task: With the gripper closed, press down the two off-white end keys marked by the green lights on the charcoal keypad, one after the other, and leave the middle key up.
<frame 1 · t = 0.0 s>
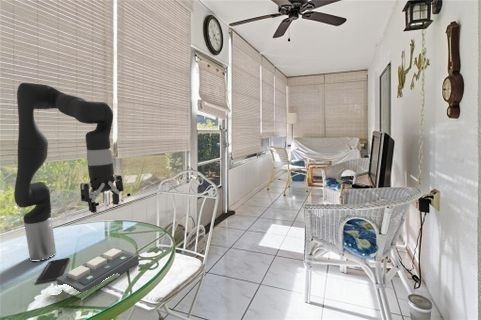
hand: (105, 208, 89), 29 cm above the table, tool pointing down, fingers open, 8 cm apart
key b: (97, 263, 100), point 4 cm above the table, slide at 0.0 cm
keypad: (101, 275, 99), on the table
phone: (55, 271, 103), on the table
key a: (79, 273, 93), point 4 cm above the table, slide at 0.0 cm
key c: (112, 255, 106), point 4 cm above the table, slide at 0.0 cm
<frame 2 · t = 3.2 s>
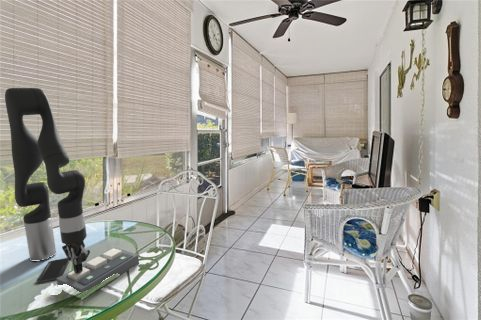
hand: (78, 271, 93), 5 cm above the table, tool pointing down, fingers closed
key a: (79, 274, 93), point 4 cm above the table, slide at 0.5 cm, touching gripper
everything else where it was.
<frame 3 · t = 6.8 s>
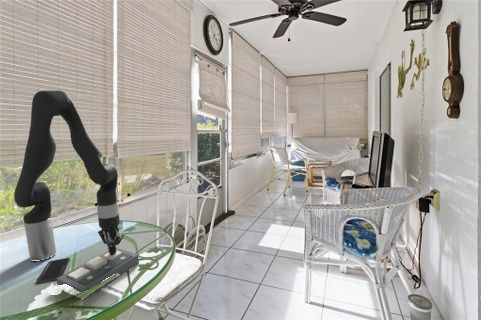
hand: (112, 253, 106), 5 cm above the table, tool pointing down, fingers closed
key a: (79, 275, 93), point 3 cm above the table, slide at 0.8 cm
key c: (113, 256, 106), point 4 cm above the table, slide at 0.7 cm, touching gripper
everything else where it was.
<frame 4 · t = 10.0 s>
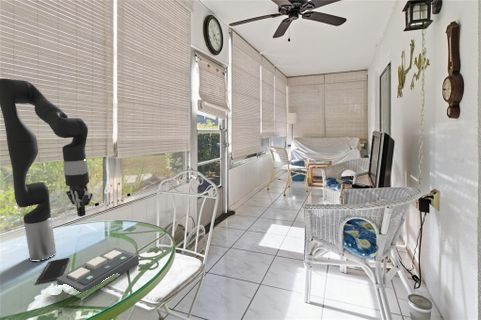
hand: (81, 215, 99), 23 cm above the table, tool pointing down, fingers closed
key c: (113, 256, 106), point 3 cm above the table, slide at 0.8 cm
everything else where it was.
at the end: key a slide at 0.8 cm; key c slide at 0.8 cm; key b slide at 0.0 cm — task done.
